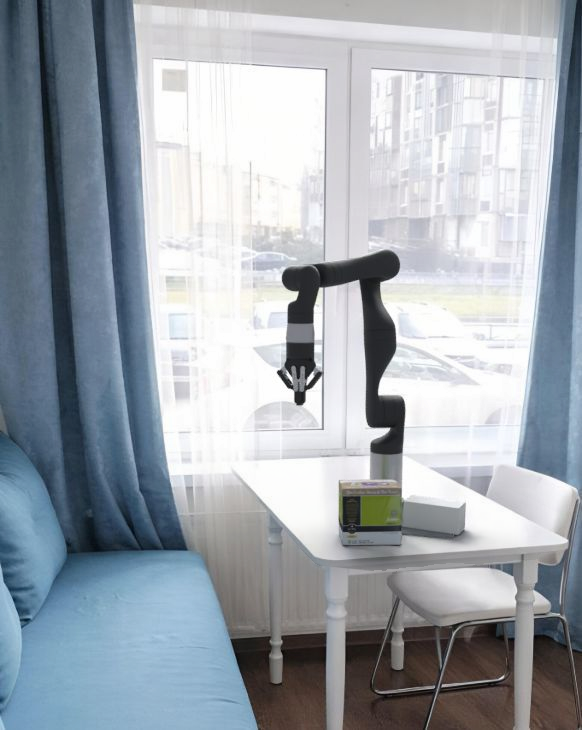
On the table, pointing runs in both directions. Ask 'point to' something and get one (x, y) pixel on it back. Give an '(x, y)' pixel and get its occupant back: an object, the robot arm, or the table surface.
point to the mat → (425, 533)
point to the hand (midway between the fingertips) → (299, 405)
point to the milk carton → (433, 514)
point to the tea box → (370, 512)
